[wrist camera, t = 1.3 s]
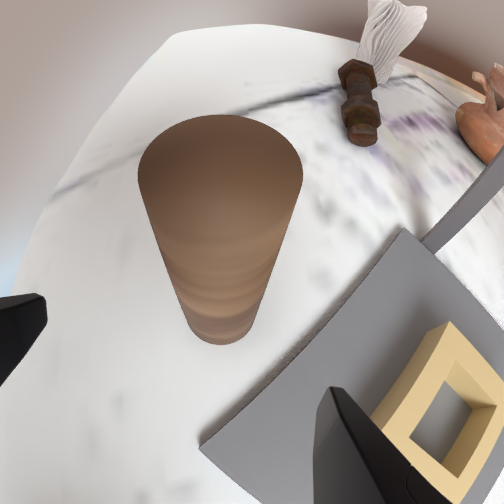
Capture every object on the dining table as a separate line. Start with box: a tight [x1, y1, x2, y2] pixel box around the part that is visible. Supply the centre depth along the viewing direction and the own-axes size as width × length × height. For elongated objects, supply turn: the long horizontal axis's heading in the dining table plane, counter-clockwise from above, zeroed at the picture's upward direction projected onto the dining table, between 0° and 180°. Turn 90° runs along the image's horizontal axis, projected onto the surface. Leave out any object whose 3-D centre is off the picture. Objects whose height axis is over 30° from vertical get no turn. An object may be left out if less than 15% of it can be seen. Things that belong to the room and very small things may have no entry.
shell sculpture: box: [355, 0, 427, 84], centre depth 32 cm, size 8×8×18 cm
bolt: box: [338, 59, 381, 147], centre depth 32 cm, size 6×5×15 cm
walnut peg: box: [138, 115, 303, 345], centre depth 15 cm, size 5×5×14 cm
